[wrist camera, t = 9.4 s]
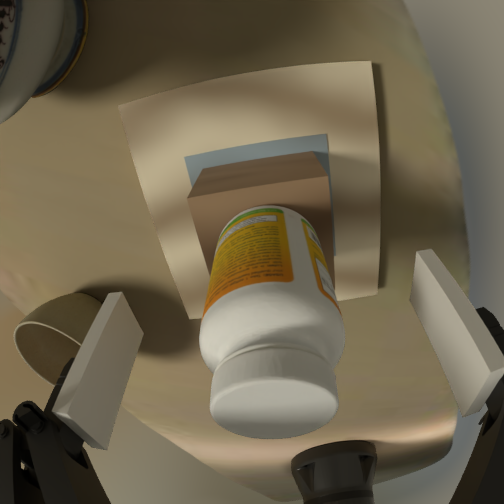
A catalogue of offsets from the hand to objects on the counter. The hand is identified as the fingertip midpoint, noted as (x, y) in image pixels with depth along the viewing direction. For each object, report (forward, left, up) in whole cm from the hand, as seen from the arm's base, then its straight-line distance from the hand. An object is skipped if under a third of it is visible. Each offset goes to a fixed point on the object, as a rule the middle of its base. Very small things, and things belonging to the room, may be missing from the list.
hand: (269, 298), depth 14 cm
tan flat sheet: (0, 0, -10) cm, 10 cm away
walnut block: (0, 0, -9) cm, 9 cm away
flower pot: (-8, +19, -10) cm, 23 cm away
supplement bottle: (0, 0, -4) cm, 4 cm away
